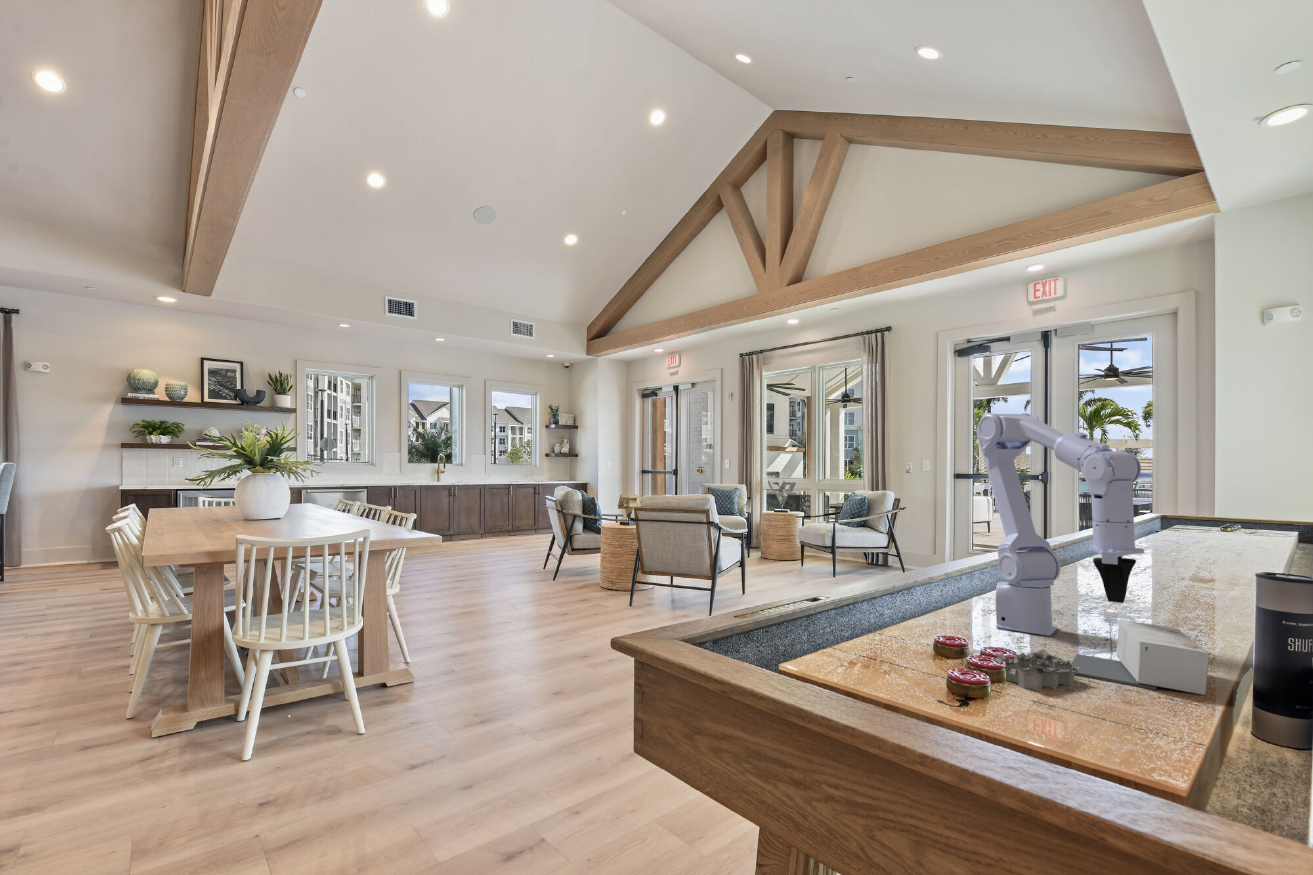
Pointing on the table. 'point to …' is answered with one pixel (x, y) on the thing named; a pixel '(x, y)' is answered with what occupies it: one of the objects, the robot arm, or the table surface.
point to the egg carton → (1038, 670)
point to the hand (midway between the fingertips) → (1116, 601)
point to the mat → (1105, 670)
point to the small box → (1162, 657)
